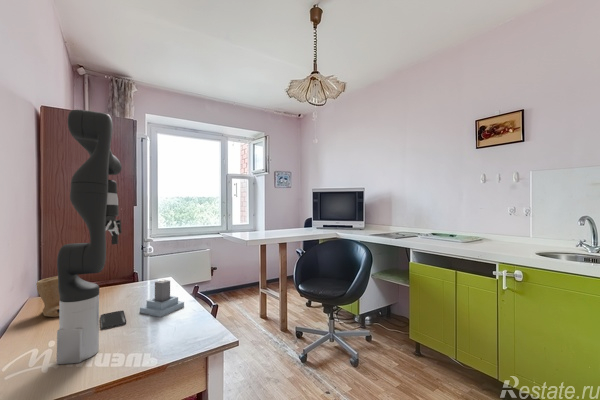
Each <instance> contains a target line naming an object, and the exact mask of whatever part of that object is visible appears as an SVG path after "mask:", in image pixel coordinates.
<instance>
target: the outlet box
mask: <svg viewBox="0 0 600 400" xmlns="http://www.w3.org/2000/svg"><path fill="white" fill-rule="evenodd" d="M184 307H185V301H179V297H178V296H174V295H170V299H169V300H166V301H164V302H158V301H155V297H153V298H151V299H148V300H146V304H145V305H143V306H140V307H139V313H140V314H141V313H142V314H144V315H145V314H146V315H150V316H154V317H158V318H161V317H163V316H166V315H168V314H170V313H173V312H175V311H177V310H180V309H182V308H184Z"/></svg>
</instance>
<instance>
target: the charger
mask: <svg viewBox="0 0 600 400" xmlns="http://www.w3.org/2000/svg"><path fill="white" fill-rule="evenodd" d="M170 296H171V280H169V279H160V280H157V281H154V298H155V301H158V302H164V301H166V300H169V299H170Z"/></svg>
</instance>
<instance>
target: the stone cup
mask: <svg viewBox="0 0 600 400" xmlns="http://www.w3.org/2000/svg"><path fill="white" fill-rule="evenodd" d="M36 290H37V291H36V292H37V293H38V295H39V297H40V298H41V300H42V302H43V304H44V307H43V308H42V314H43V316H45V317H50V318H51V317H53V318H54V317H59V308H60V295H59V291H58V275H56V276H55V275H54V276H52V277H47V278H43V279H40V280H38V281H37V282H36Z"/></svg>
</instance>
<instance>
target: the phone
mask: <svg viewBox="0 0 600 400" xmlns="http://www.w3.org/2000/svg"><path fill="white" fill-rule="evenodd" d="M99 322H100V330H102V331H105V330H108V329H113V328H117V327H121V326H125V325H127V318H126V314H125V312H124V310H117V311H113V312H106V313H102V314H100V315H99Z"/></svg>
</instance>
